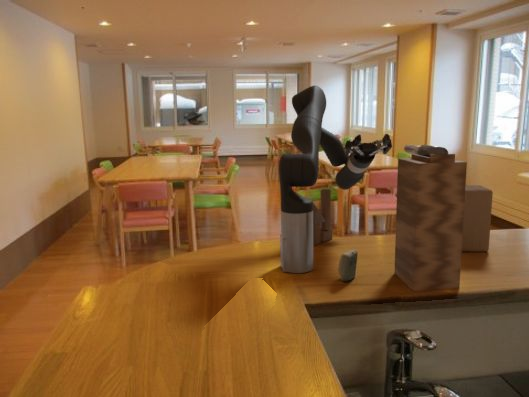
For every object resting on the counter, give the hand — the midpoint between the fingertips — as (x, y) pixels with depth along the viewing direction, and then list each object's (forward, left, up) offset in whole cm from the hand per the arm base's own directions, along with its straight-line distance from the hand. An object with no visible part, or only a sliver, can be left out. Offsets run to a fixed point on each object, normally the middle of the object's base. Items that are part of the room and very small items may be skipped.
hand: (373, 136), depth 137 cm
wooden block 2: (+33, +2, -37) cm, 50 cm away
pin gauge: (+7, -20, -5) cm, 22 cm away
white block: (-13, -21, -37) cm, 45 cm away
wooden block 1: (-13, +17, -37) cm, 43 cm away
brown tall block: (+7, -25, -37) cm, 45 cm away
